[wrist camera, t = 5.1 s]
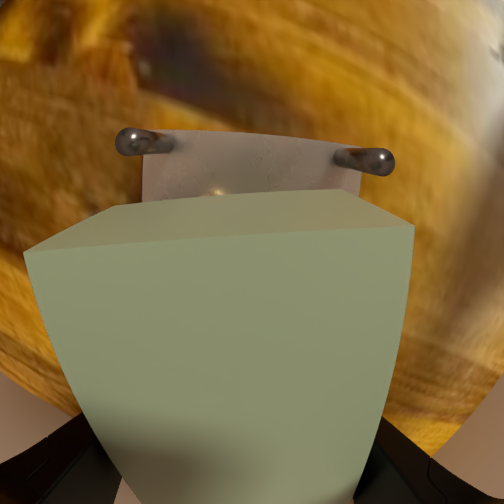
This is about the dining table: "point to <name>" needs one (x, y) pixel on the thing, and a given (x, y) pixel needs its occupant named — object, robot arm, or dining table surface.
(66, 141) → the dining table surface
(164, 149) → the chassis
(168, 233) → the board
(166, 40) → the dining table surface
